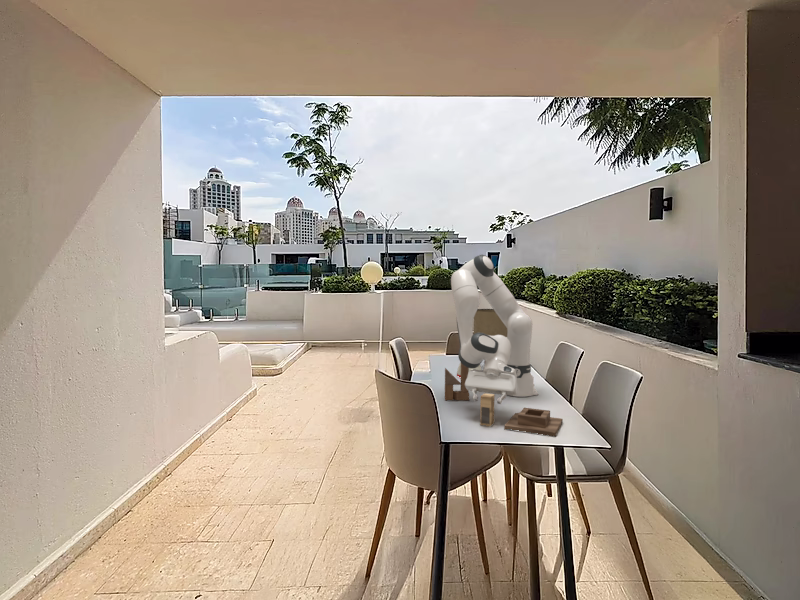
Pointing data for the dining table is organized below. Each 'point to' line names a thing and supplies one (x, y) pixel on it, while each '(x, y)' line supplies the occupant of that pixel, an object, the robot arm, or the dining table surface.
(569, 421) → the dining table surface
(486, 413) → the tan rectangular box
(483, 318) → the lamp
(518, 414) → the post base
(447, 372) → the wooden block
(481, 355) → the robot arm
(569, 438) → the dining table surface
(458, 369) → the kitchen timer
